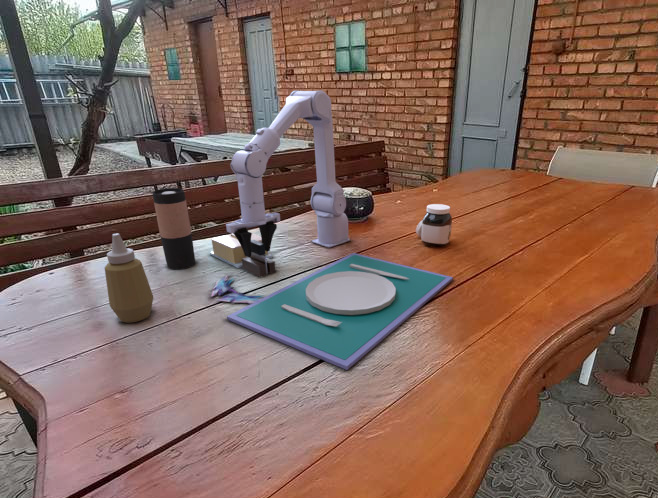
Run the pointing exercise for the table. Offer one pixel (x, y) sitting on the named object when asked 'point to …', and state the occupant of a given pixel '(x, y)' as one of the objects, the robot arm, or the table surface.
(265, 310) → the place mat
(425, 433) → the table surface
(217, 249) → the cake
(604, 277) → the table surface
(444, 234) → the spread jar
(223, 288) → the decorative blades
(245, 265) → the stand
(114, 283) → the squeeze bottle
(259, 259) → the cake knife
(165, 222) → the travel mug
